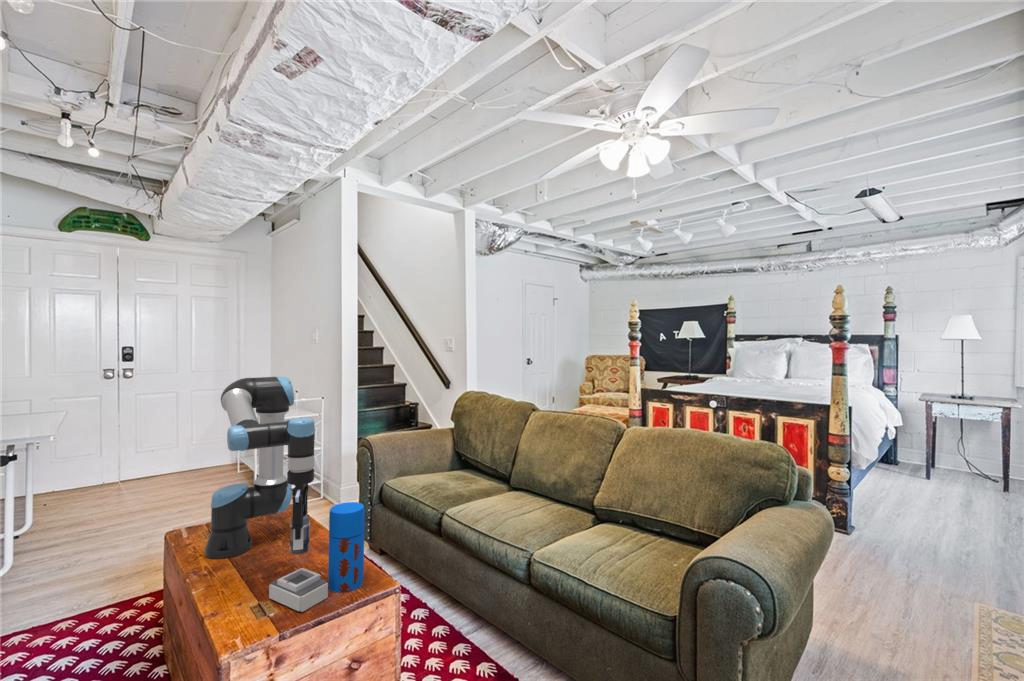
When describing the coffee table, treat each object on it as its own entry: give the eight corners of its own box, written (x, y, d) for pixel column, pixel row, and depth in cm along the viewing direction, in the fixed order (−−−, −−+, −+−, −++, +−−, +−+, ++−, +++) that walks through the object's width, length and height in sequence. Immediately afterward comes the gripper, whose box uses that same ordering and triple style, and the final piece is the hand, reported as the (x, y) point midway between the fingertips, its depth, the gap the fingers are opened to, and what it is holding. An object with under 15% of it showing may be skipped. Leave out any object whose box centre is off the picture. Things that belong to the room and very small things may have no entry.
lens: (285, 552, 141) (286, 518, 141) (301, 545, 146) (302, 512, 146) (297, 556, 138) (298, 522, 138) (313, 549, 143) (314, 516, 143)
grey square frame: (269, 599, 141) (269, 577, 141) (296, 585, 150) (297, 564, 150) (300, 613, 134) (300, 590, 134) (327, 598, 143) (328, 576, 143)
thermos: (334, 576, 156) (335, 502, 156) (366, 575, 157) (367, 501, 157) (323, 593, 145) (325, 514, 145) (358, 592, 146) (359, 513, 146)
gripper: (292, 462, 150) (291, 534, 150) (281, 478, 132) (280, 559, 132) (317, 461, 152) (316, 531, 152) (309, 476, 134) (308, 556, 134)
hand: (299, 544), depth 142 cm, fingers closed on lens, 6 cm apart
